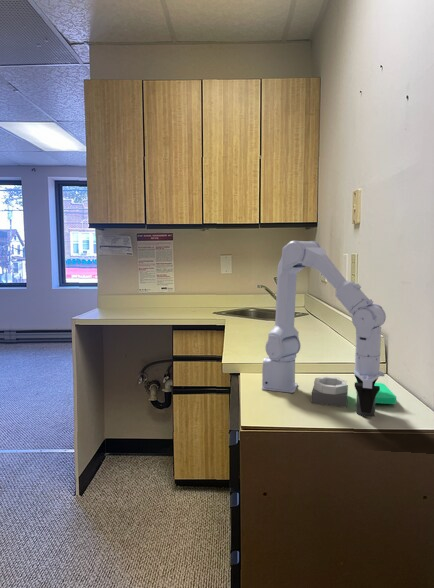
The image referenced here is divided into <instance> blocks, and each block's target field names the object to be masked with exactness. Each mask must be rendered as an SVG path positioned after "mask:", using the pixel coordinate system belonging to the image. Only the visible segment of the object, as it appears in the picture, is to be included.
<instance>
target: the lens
mask: <svg viewBox="0 0 434 588" xmlns="http://www.w3.org/2000/svg"><path fill="white" fill-rule="evenodd" d="M355 392H356V404H355V406H356V408H355V409H356V410H355V413H356V415H358V416H360V417H363V418H373V417H375V415H376V403H375V399H374V402H373V407H372V410H371V413H364V412H361V408H360V401H359V396H358V393H357V391H356V390H355ZM375 398H376V397H375Z"/></svg>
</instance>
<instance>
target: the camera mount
mask: <svg viewBox="0 0 434 588" xmlns="http://www.w3.org/2000/svg"><path fill="white" fill-rule="evenodd" d="M356 383H358V382H357V380H356ZM374 386H380V390H379V392H378V393H377V395H376V398H375V404H385V405H386V404H390V405H394V404H395V405H396V404H397V396H396V395H395V394H394V393H393V391H392V390H391V389H390V388H389V387H388V386H387V385H386V384H385V383H383V382H375V385H374Z"/></svg>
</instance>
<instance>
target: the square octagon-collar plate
mask: <svg viewBox="0 0 434 588" xmlns="http://www.w3.org/2000/svg"><path fill="white" fill-rule="evenodd" d="M347 384H348V383H347V380H345V379H342V378H340V377H336V376H320V377H316V378H315V379H314V382H313V386H312V387H313V388H312V390H311V404H316V405H323V406H324V405H325V406H332V407H341V408H347V407H348V396H349V395H348V394H349V393H348V391H349V385H347Z"/></svg>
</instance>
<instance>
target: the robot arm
mask: <svg viewBox="0 0 434 588" xmlns="http://www.w3.org/2000/svg"><path fill="white" fill-rule="evenodd" d="M305 267H309V268H314V269H316V270H317V271H318V272H319V273H320V274H321V276H323V277H324V278H325V280H326V281H328V283H329V284H330V285H331V286H332V287H333V288H334V289H335V297H336V299H337V300H338V301H339V302H340V304H342V306H343V307H344V308H345V310H347V312H348V313H349V314H350V315H351V316H352V317H351V322H352V324H353V326H354V328H355V353H354V354H355V355H354V356H355V358H354V360H355V361H354V370H353V374H354V377H355V379H356V381H357V382H358V383H356V382H354V388H355V392H356V391H357V393H358V396H359V401H360V408H361V412H364V413H371V410H372V407H373V402H374V399H375V397H376V395H377V393H378V392H379V390H380V386H374V385H375V383H377V380H378V379H379V378H380V377H385V376H386V375H385V374H386V373H385V371H381V370H380V367H381V365H380V364H381V342H382V325H384V324H385V322H386V318H387V315H386V312H385V310H384V308H383V307H382V306H381V305H380V304H377V303H374V301H373V300H372V299H369V297H368V296H367V295H366V294H365V293H364V291H362V290H361V288H362V286H361V284H359V283H356V282H354V281H348V280H347V279H346V278H345V277H344V275H342V273H341V272H340V270H339V269H338V268H337V267H336V266H335V264H334V263H333V261H332V260H331V259H330V258H329V256H328V255H327V252H326V250H325V248H323V247H322V246H321V245H320V244H319V243H318V242H317V241H315V240H310V241H303V240H291V241H289V242H288V243H287V244H285V245H284V246H283V247H282V248H281V257H280V260H279V262H278V265H277V276H276V277H277V278H276V295H275V296H276V297H275V298H276V299H275V300H276V301H275V319H274V320H275V321H274V323H275V324H274V327H273V328H272V329H271V330H270V331H269V333H268V337H267V338H268V339H267V341H266V343H265V347H264V348H265V352H266V355H267V356H265V357H264V358H263V362H262V368H261V369H262V371H261V372H262V376H261V377H262V380H261V381H262V383H261V389H262V390H263V391H264V390H265V391H273V392H282V393H289V394H294V393H295V392H296V389H297V387H298V382H296V359H297V354H298V353H299V352H300V351H301V341H300V337H299V333H300V332H299V330H297V328H296V327H295V315H296V313H295V311H296V296H297V293H296V292H297V277H298V276H297V275H298V273H300V272H301V271H302V270H303V269H304V268H305ZM357 393H356V394H357Z"/></svg>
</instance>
